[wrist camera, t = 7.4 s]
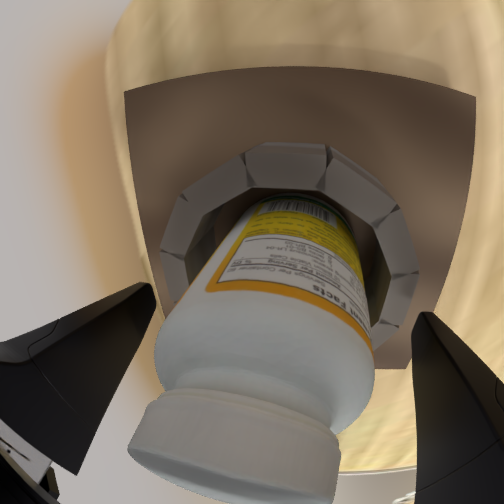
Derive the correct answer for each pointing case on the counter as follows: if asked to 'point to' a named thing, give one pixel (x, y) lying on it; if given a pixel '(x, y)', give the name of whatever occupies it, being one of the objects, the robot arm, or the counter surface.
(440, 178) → the brown base with ring
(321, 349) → the supplement bottle
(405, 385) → the counter surface
